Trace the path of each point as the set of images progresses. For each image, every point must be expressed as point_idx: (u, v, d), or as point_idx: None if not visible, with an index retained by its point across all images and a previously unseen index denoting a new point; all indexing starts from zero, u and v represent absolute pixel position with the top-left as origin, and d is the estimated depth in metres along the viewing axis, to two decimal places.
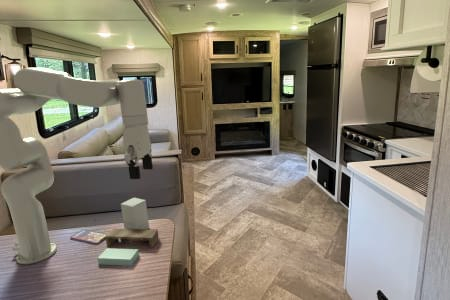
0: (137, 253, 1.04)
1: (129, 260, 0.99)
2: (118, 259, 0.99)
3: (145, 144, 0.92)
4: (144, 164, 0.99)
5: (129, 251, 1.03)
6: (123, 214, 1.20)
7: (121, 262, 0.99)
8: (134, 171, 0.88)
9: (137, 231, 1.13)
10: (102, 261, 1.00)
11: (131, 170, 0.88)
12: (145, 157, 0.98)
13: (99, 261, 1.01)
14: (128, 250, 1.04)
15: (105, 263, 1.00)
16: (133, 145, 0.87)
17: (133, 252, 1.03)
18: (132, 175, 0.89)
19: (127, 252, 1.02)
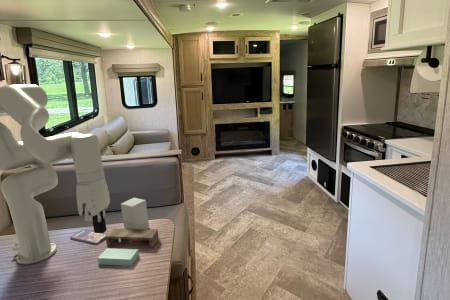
0: (137, 253, 1.04)
1: (129, 260, 0.99)
2: (118, 259, 0.99)
3: (101, 199, 0.89)
4: None
5: (129, 251, 1.03)
6: (123, 214, 1.20)
7: (121, 262, 0.99)
8: (98, 226, 0.89)
9: (137, 231, 1.13)
10: (102, 261, 1.00)
11: (95, 224, 0.89)
12: None
13: (99, 261, 1.01)
14: (128, 250, 1.04)
15: (105, 263, 1.00)
16: (87, 203, 0.84)
17: (133, 252, 1.03)
18: (96, 230, 0.90)
19: (127, 252, 1.02)
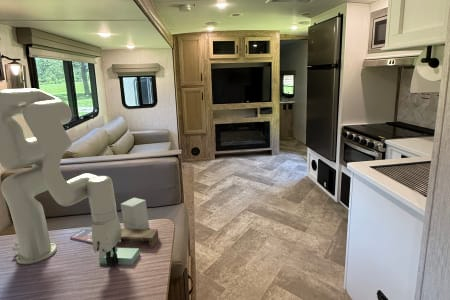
0: (138, 252, 1.05)
1: (130, 259, 0.99)
2: (119, 258, 1.00)
3: (114, 236, 0.96)
4: None
5: (130, 250, 1.04)
6: (123, 214, 1.20)
7: (122, 261, 1.00)
8: (110, 260, 0.97)
9: (137, 231, 1.13)
10: (103, 260, 1.01)
11: (108, 259, 0.97)
12: None
13: (100, 260, 1.01)
14: (129, 249, 1.04)
15: (106, 262, 1.01)
16: (101, 241, 0.91)
17: (134, 251, 1.03)
18: (109, 263, 0.97)
19: (128, 252, 1.03)
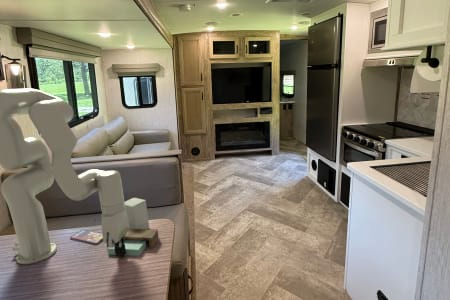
0: (145, 244, 1.10)
1: (137, 250, 1.04)
2: (127, 249, 1.05)
3: (122, 227, 1.01)
4: None
5: (137, 242, 1.09)
6: None
7: (130, 252, 1.05)
8: (119, 250, 1.02)
9: (137, 231, 1.13)
10: (112, 251, 1.06)
11: (116, 249, 1.02)
12: None
13: (109, 251, 1.06)
14: (136, 241, 1.09)
15: (114, 253, 1.06)
16: (110, 232, 0.96)
17: (141, 243, 1.08)
18: (117, 254, 1.02)
19: (135, 243, 1.08)
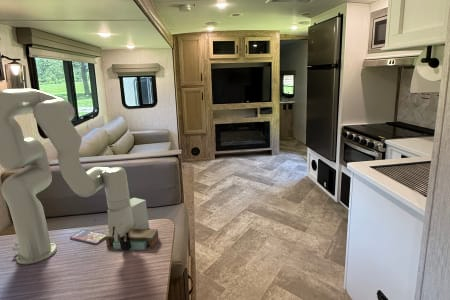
0: None
1: (142, 244, 1.08)
2: (132, 244, 1.08)
3: (128, 222, 1.04)
4: None
5: None
6: None
7: (135, 246, 1.08)
8: (124, 244, 1.05)
9: (137, 231, 1.13)
10: (117, 246, 1.09)
11: (122, 243, 1.05)
12: None
13: (114, 245, 1.10)
14: None
15: (120, 247, 1.10)
16: (116, 226, 1.00)
17: None
18: (122, 248, 1.06)
19: None
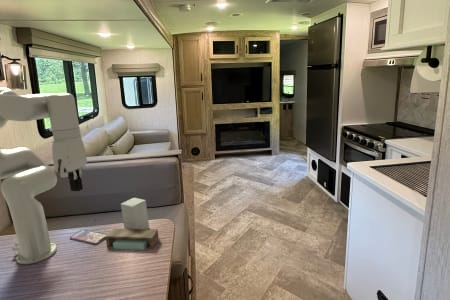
0: None
1: (142, 244, 1.08)
2: (132, 244, 1.08)
3: (77, 157, 0.92)
4: None
5: None
6: (123, 214, 1.20)
7: (135, 246, 1.08)
8: (74, 184, 0.93)
9: (137, 231, 1.13)
10: (117, 246, 1.09)
11: (71, 182, 0.93)
12: None
13: (114, 245, 1.10)
14: None
15: (120, 247, 1.10)
16: (62, 159, 0.87)
17: None
18: (72, 187, 0.93)
19: None
